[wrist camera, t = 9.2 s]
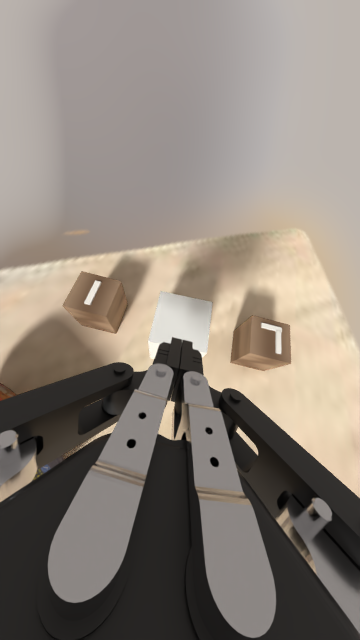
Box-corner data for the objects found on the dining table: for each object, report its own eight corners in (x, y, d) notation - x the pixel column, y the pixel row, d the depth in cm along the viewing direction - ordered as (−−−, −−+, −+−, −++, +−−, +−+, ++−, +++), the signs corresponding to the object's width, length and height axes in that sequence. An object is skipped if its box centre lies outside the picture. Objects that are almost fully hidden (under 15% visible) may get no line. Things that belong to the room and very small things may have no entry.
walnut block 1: (81, 325, 26) (61, 304, 20) (96, 295, 28) (81, 268, 23) (116, 333, 26) (105, 315, 21) (128, 303, 28) (121, 279, 23)
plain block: (150, 358, 25) (148, 341, 18) (159, 319, 28) (160, 291, 21) (192, 366, 26) (206, 353, 18) (197, 327, 28) (212, 302, 21)
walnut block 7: (230, 362, 27) (250, 352, 21) (233, 330, 29) (252, 313, 23) (263, 371, 27) (292, 363, 21) (264, 337, 29) (290, 322, 23)
